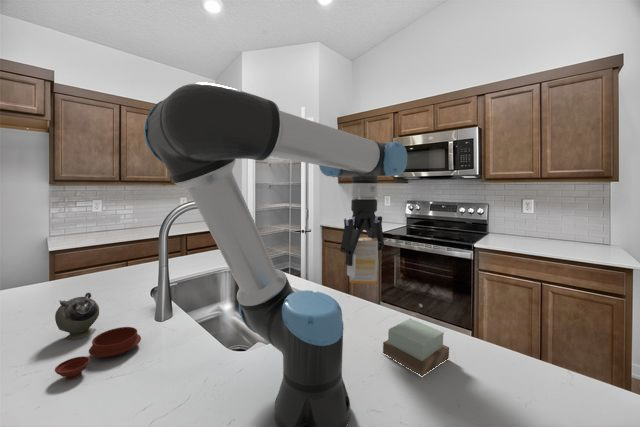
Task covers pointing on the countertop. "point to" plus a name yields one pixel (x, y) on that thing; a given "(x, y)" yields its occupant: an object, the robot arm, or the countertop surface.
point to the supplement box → (366, 261)
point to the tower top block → (415, 338)
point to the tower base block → (413, 362)
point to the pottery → (101, 350)
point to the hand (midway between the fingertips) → (362, 273)
